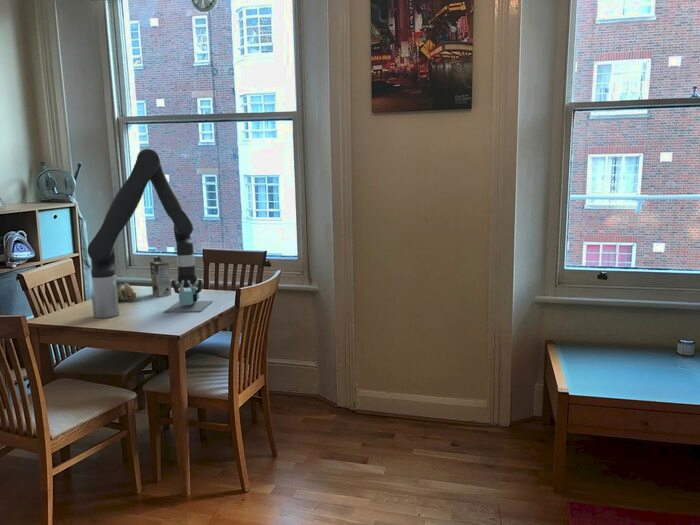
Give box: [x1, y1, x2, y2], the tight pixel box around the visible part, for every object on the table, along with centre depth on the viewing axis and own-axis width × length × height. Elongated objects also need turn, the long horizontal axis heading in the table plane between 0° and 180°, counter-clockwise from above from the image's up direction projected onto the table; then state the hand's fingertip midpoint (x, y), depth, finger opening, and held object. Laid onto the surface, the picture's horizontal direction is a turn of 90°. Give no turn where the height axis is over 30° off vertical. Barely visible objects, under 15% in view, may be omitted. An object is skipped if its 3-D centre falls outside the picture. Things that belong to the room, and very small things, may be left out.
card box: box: [178, 287, 200, 305], centre depth 247 cm, size 5×5×12 cm
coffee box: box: [149, 260, 172, 298], centre depth 270 cm, size 9×6×16 cm
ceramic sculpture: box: [117, 281, 137, 302], centre depth 262 cm, size 11×9×15 cm
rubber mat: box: [163, 300, 214, 313], centre depth 246 cm, size 16×18×1 cm
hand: (188, 301), depth 246 cm, fingers closed on card box, 5 cm apart
